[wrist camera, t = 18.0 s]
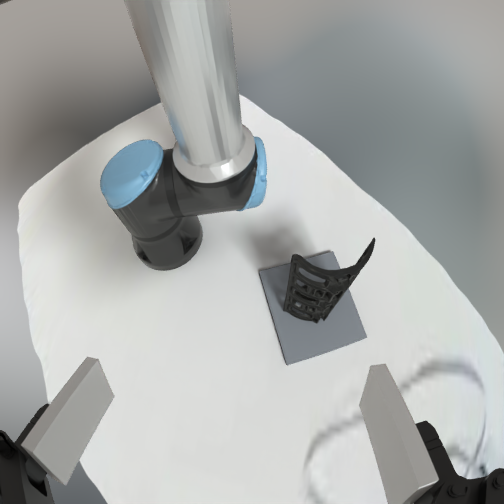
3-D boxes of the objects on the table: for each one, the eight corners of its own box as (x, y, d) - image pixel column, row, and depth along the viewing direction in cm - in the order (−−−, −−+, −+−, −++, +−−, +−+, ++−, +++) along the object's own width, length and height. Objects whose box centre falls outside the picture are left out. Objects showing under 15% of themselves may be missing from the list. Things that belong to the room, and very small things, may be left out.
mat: (259, 273, 53) (259, 271, 52) (332, 253, 54) (333, 251, 53) (286, 365, 45) (287, 364, 44) (365, 338, 46) (366, 337, 45)
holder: (329, 273, 51) (356, 210, 33) (349, 307, 48) (391, 257, 30) (276, 299, 49) (280, 243, 32) (296, 336, 46) (314, 300, 28)
